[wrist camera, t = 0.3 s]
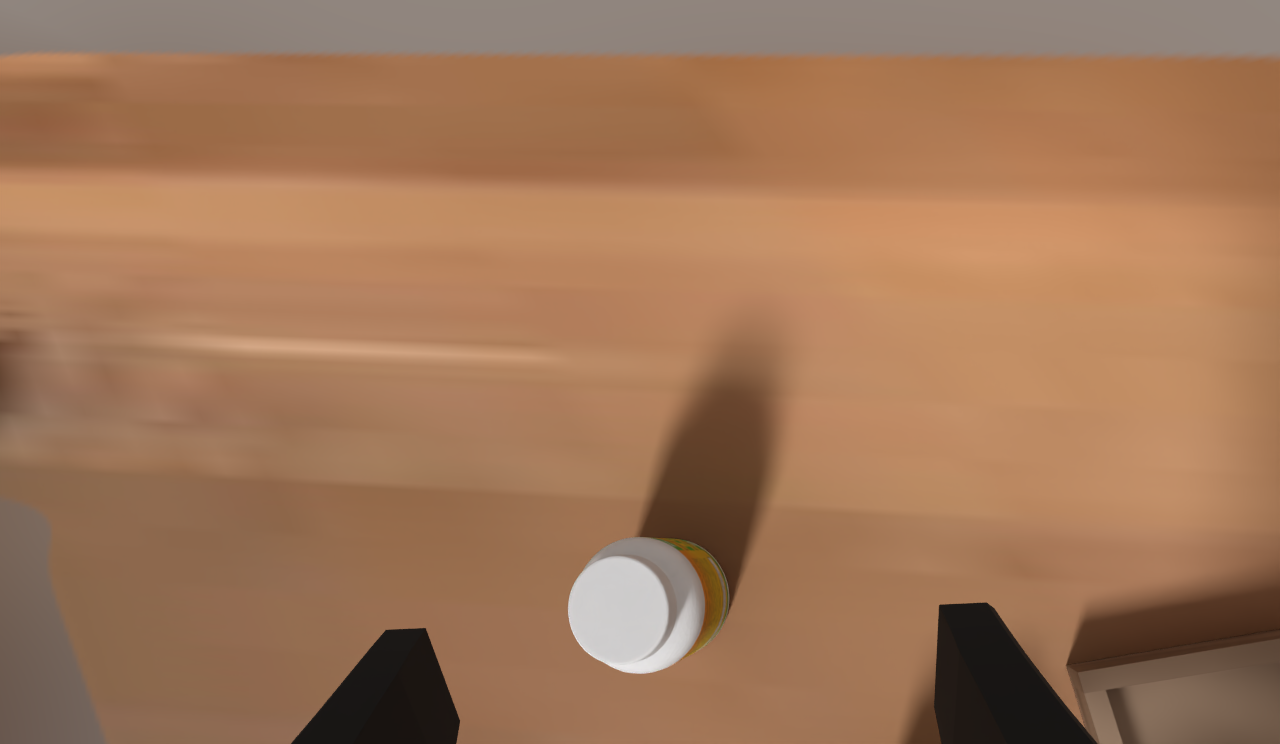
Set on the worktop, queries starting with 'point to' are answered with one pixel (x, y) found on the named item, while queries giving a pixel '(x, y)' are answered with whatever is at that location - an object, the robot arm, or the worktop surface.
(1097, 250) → the worktop surface
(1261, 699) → the tray
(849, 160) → the worktop surface
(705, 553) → the supplement bottle
